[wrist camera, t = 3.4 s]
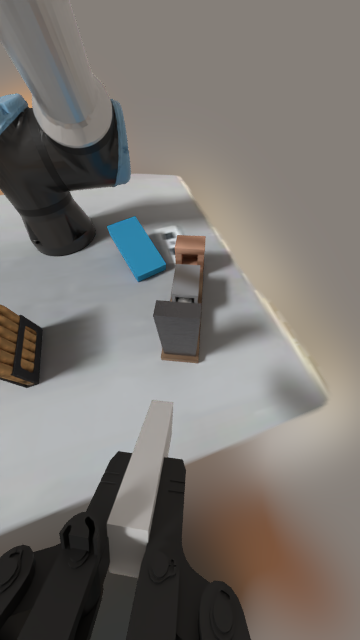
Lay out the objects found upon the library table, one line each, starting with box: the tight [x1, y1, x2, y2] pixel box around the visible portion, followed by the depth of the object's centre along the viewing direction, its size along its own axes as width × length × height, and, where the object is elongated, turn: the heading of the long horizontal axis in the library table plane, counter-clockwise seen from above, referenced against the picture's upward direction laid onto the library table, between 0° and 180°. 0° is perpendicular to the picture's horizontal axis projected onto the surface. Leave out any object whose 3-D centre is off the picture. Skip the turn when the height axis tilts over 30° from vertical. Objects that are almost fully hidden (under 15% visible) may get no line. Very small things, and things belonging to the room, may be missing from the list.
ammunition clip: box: [0, 305, 42, 388], centre depth 26 cm, size 11×2×12 cm, turn 19°
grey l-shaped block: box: [153, 297, 201, 357], centre depth 28 cm, size 16×5×12 cm, turn 174°
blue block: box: [107, 216, 166, 282], centre depth 43 cm, size 7×7×18 cm
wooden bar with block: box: [161, 235, 205, 363], centre depth 33 cm, size 24×6×7 cm, turn 174°
